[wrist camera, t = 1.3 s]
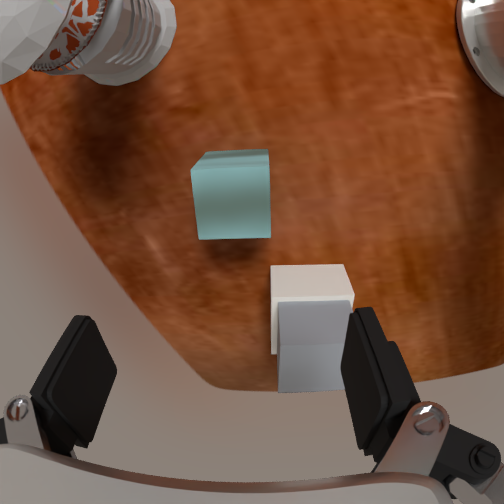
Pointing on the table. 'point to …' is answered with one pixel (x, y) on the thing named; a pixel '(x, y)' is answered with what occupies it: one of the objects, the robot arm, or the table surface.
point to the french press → (85, 37)
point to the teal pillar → (232, 194)
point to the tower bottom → (306, 288)
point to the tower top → (311, 345)
